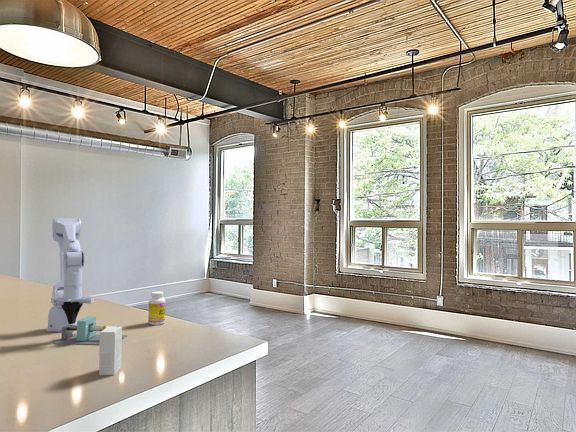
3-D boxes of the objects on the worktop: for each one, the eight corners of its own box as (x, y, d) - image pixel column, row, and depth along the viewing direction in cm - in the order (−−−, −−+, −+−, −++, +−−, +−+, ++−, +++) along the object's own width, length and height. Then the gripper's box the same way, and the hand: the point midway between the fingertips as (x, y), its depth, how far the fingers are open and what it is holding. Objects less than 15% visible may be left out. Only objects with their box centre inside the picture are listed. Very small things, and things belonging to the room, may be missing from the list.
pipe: (61, 340, 137) (61, 326, 137) (68, 337, 141) (68, 323, 141) (116, 342, 137) (116, 327, 137) (121, 338, 141) (121, 324, 141)
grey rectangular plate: (53, 343, 134) (53, 342, 134) (72, 334, 145) (72, 333, 145) (112, 345, 133) (112, 344, 133) (127, 335, 144) (127, 335, 144)
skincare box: (106, 367, 113) (107, 326, 113) (121, 367, 114) (122, 326, 114) (98, 375, 107) (99, 332, 107) (114, 375, 108) (115, 331, 108)
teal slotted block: (76, 340, 136) (77, 321, 136) (87, 335, 142) (87, 316, 143) (85, 340, 136) (85, 321, 136) (95, 335, 142) (95, 316, 143)
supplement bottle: (159, 325, 159) (160, 294, 159) (145, 324, 160) (145, 293, 160) (168, 321, 165) (168, 291, 165) (153, 320, 166) (154, 290, 167)
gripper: (45, 286, 136) (44, 325, 136) (86, 287, 135) (85, 326, 135) (58, 283, 143) (57, 320, 143) (97, 284, 142) (96, 321, 142)
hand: (71, 323), depth 139 cm, fingers closed
